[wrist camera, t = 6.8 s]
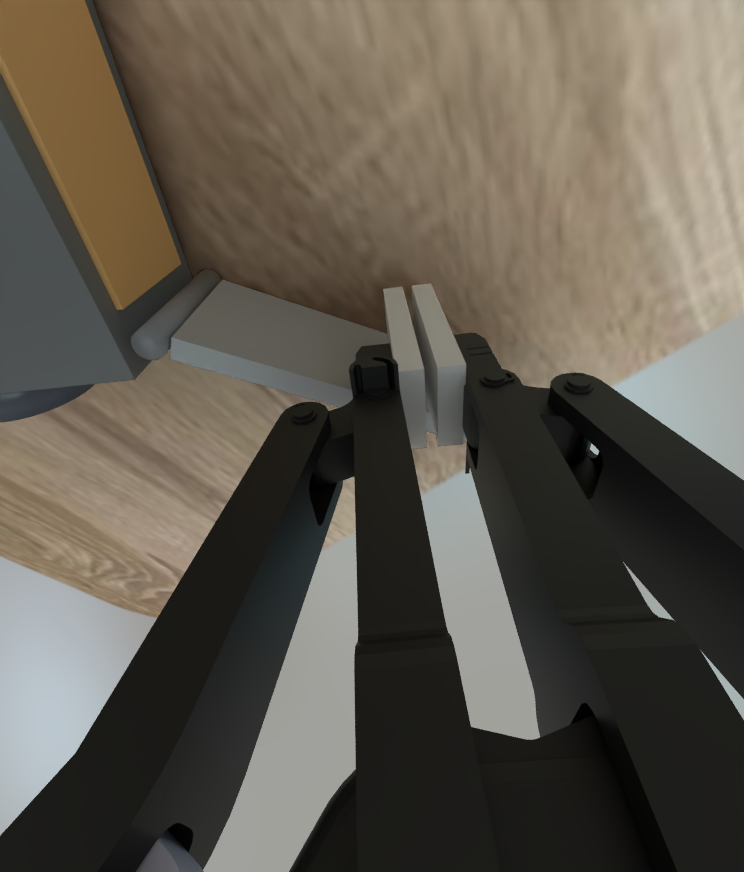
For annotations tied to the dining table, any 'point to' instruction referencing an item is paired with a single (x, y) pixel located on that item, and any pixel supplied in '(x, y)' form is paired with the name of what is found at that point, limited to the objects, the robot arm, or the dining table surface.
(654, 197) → the dining table surface
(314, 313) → the side door
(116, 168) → the camera body
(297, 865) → the robot arm
